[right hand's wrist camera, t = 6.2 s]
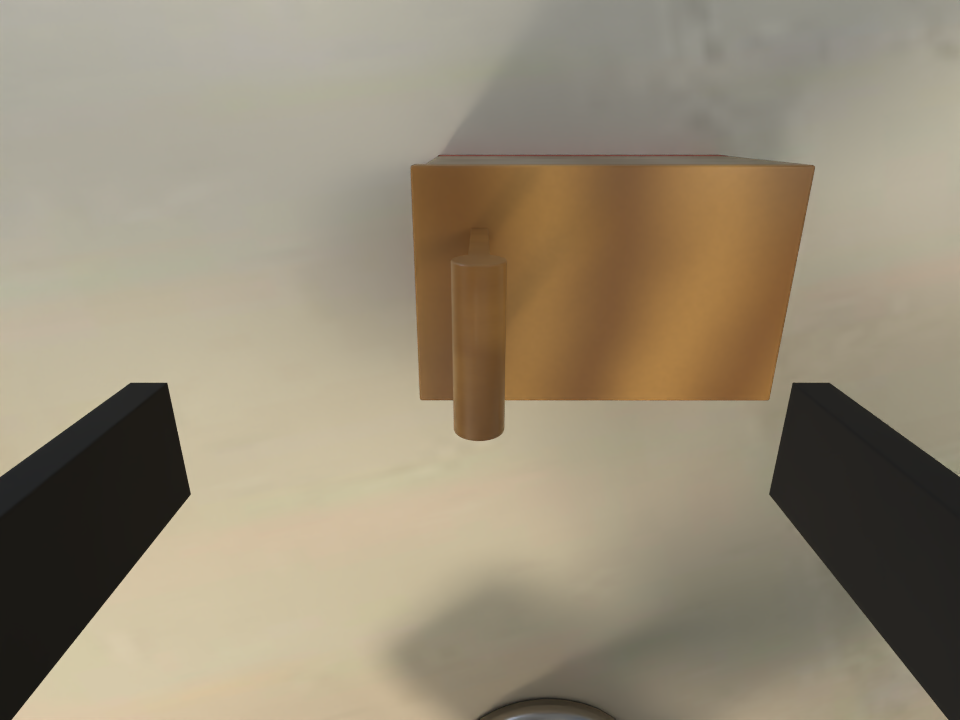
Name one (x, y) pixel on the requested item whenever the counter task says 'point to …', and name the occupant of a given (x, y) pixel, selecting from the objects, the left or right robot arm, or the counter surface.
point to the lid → (601, 282)
